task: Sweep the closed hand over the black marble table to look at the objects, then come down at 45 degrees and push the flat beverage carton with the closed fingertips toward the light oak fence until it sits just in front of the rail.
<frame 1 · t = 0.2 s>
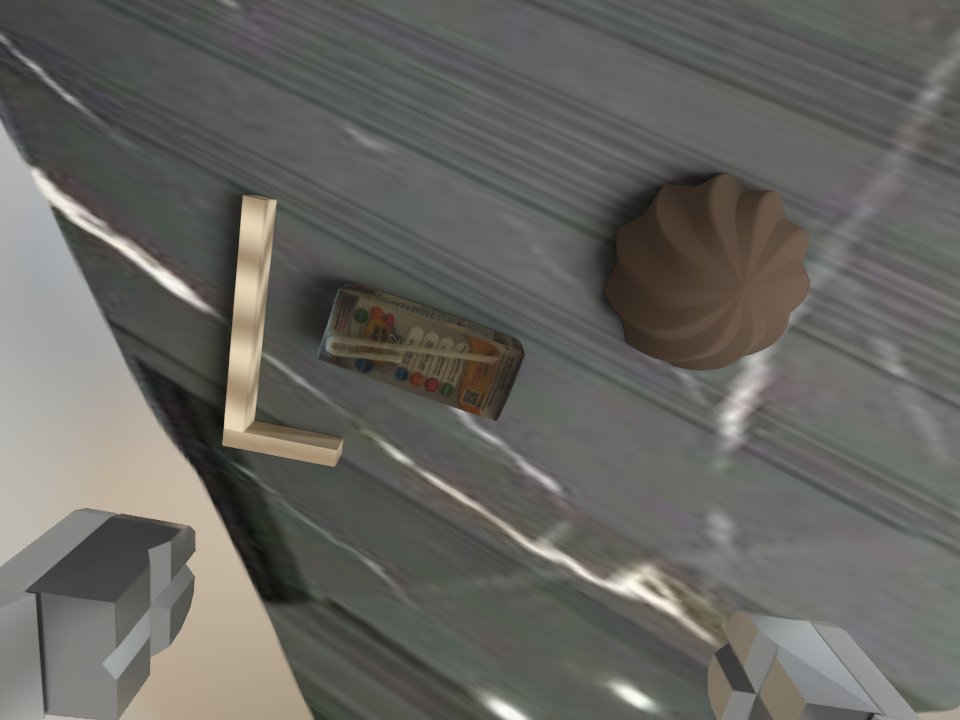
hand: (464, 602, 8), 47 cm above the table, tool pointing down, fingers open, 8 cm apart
decorative dome: (698, 274, 54), on the table
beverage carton: (426, 341, 56), on the table
oak fence: (255, 315, 55), on the table
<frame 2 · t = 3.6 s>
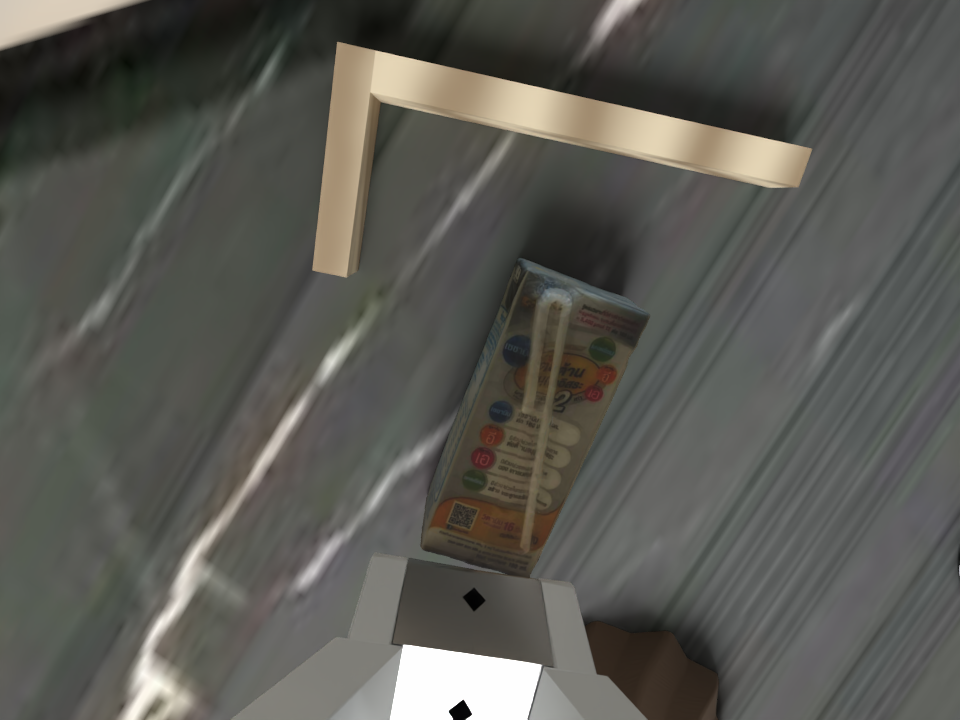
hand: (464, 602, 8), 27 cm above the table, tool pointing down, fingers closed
decorative dome: (604, 710, 45), on the table
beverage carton: (519, 401, 37), on the table
oak fence: (583, 128, 31), on the table
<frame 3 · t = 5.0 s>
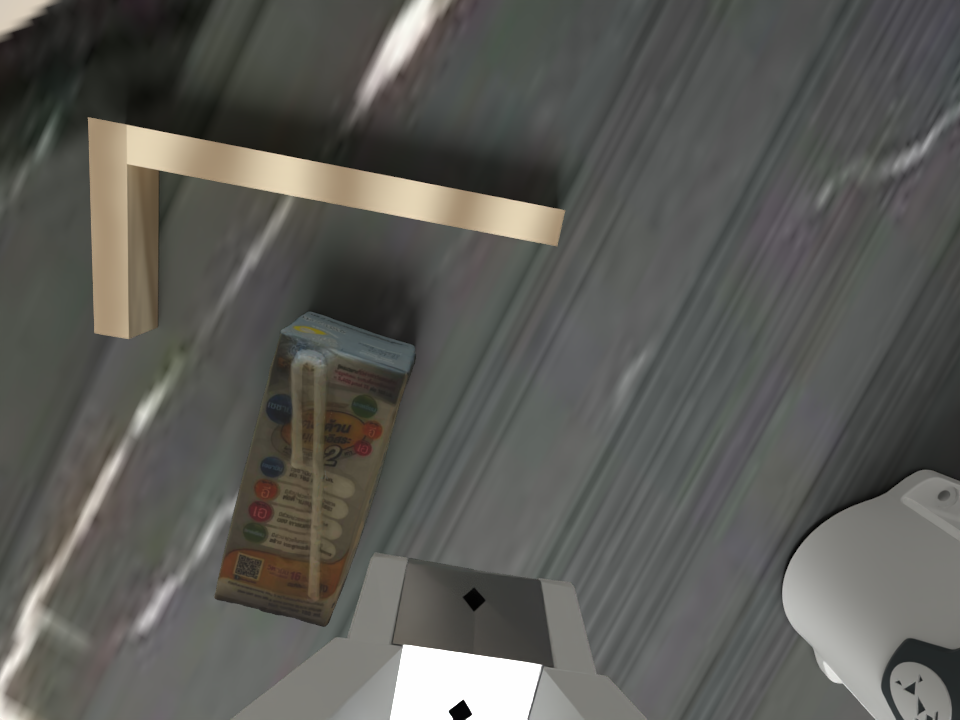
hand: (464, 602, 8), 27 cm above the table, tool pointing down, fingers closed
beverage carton: (330, 446, 38), on the table
oak fence: (360, 188, 32), on the table
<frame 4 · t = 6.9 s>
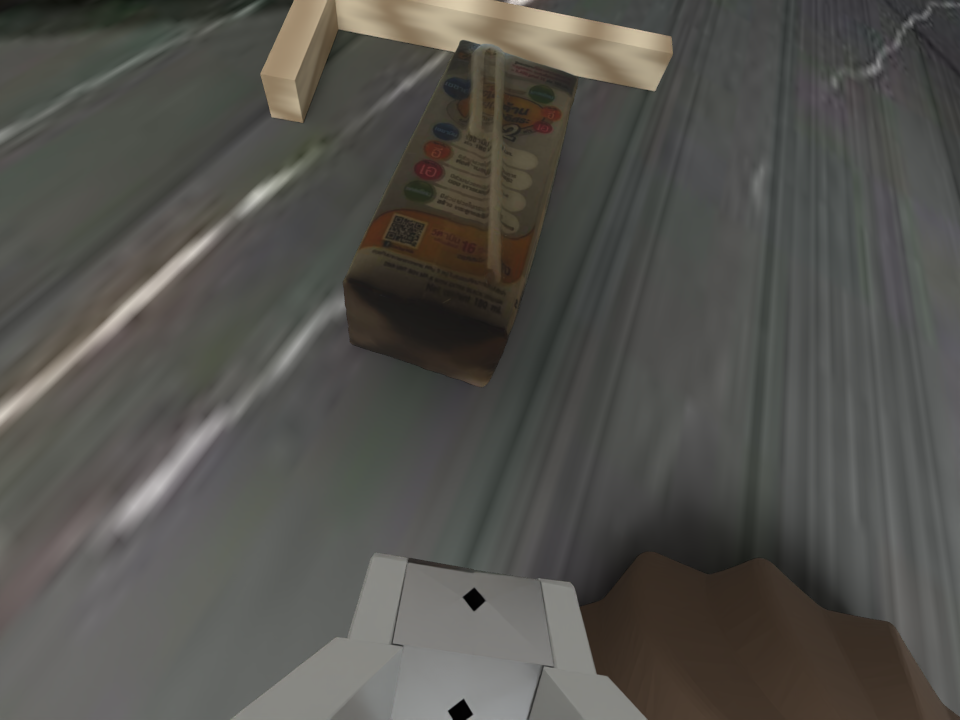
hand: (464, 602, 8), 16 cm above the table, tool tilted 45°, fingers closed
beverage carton: (465, 239, 32), on the table
oak fence: (501, 52, 40), on the table
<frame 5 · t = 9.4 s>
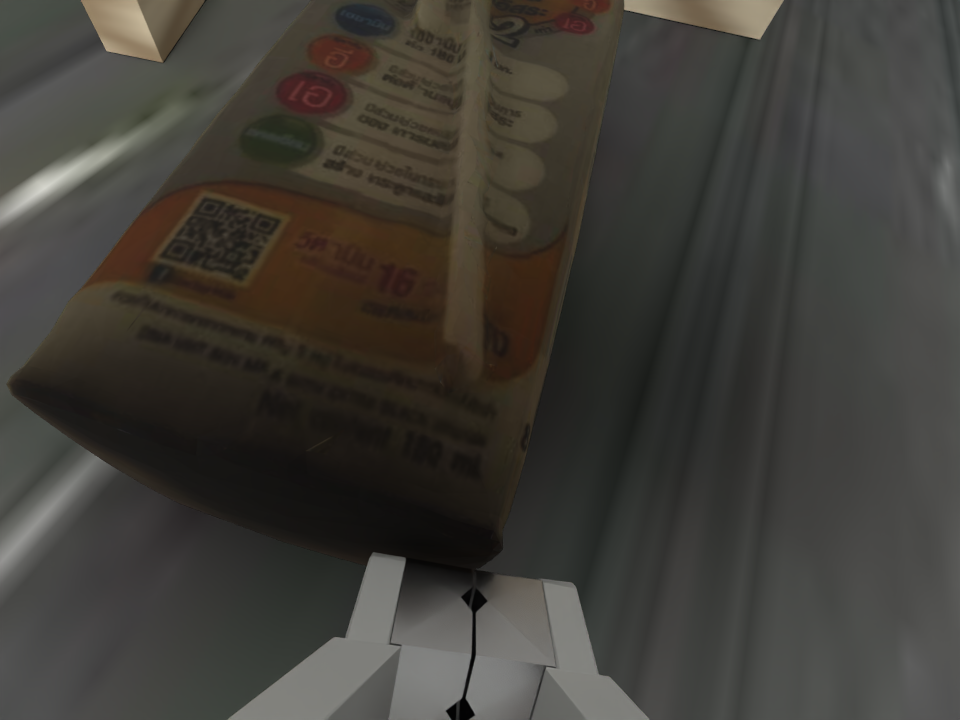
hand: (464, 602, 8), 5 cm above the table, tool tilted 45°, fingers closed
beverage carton: (425, 255, 17), on the table, touching gripper
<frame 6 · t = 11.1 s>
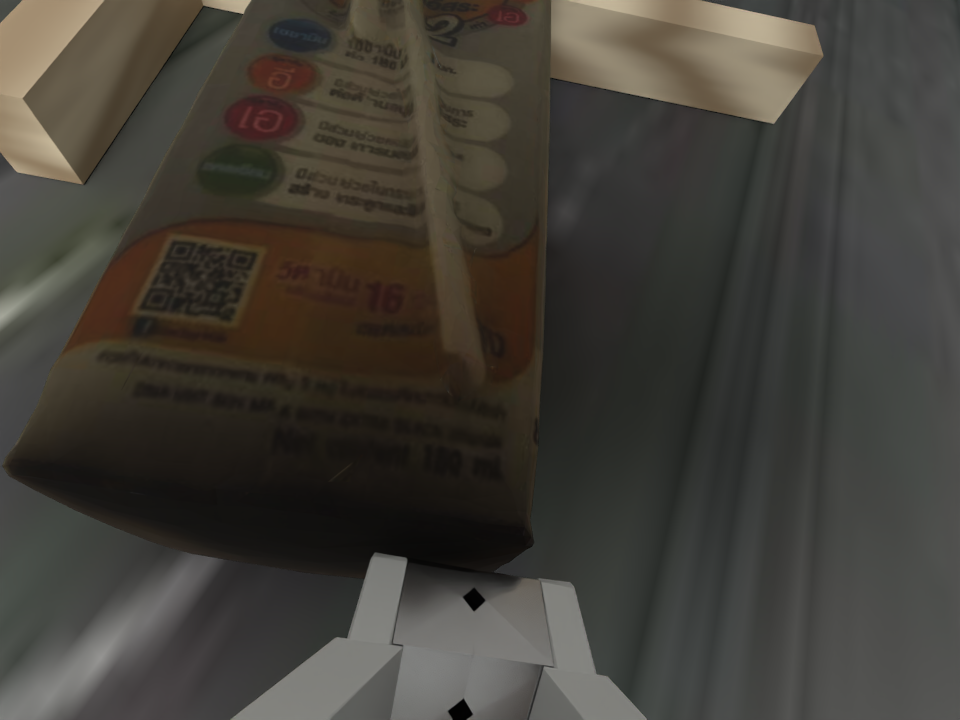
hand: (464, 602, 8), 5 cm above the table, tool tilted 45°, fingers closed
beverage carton: (389, 262, 17), on the table
oak fence: (500, 52, 22), on the table
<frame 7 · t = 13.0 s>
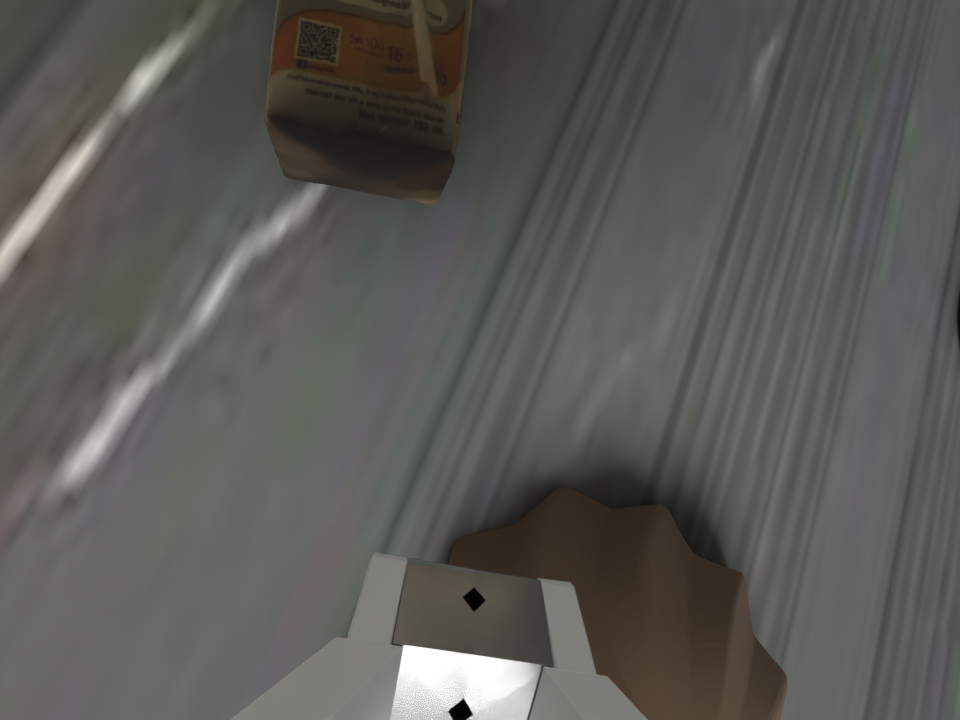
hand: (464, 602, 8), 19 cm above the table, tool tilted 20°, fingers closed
decorative dome: (577, 668, 28), on the table
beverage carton: (382, 20, 27), on the table
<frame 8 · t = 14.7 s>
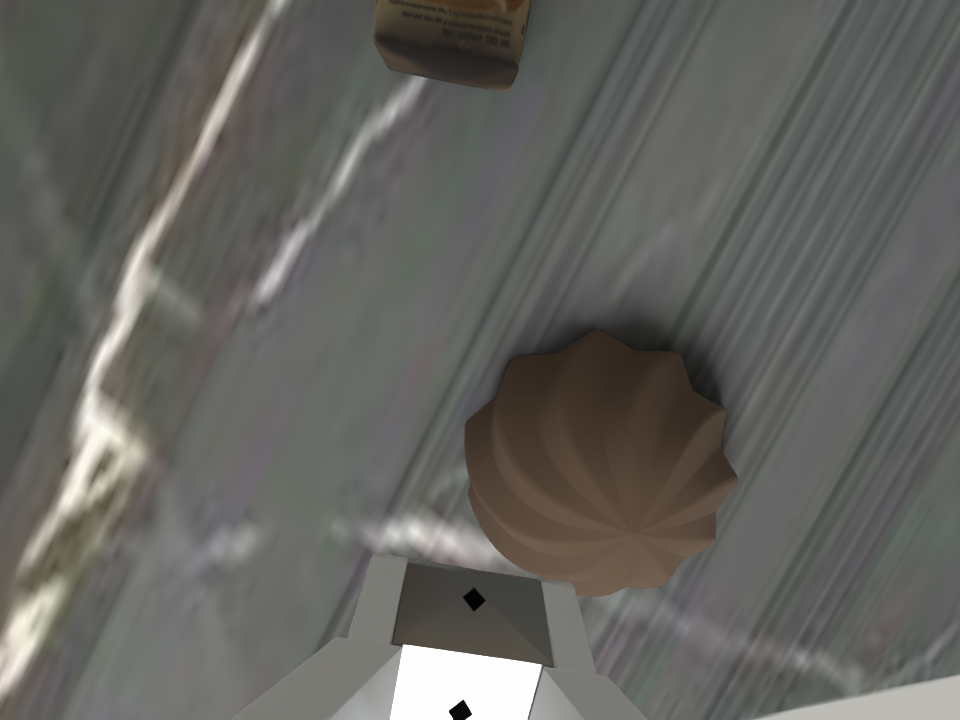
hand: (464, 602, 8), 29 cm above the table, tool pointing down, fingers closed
decorative dome: (591, 454, 40), on the table
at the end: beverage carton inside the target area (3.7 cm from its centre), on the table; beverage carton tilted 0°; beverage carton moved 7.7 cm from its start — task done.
